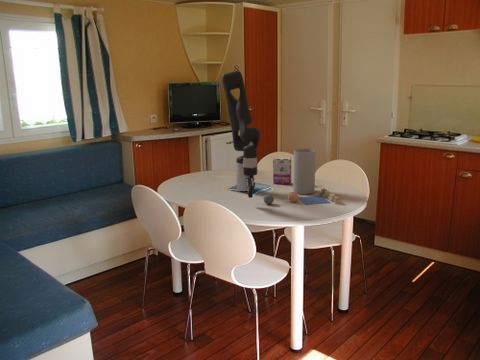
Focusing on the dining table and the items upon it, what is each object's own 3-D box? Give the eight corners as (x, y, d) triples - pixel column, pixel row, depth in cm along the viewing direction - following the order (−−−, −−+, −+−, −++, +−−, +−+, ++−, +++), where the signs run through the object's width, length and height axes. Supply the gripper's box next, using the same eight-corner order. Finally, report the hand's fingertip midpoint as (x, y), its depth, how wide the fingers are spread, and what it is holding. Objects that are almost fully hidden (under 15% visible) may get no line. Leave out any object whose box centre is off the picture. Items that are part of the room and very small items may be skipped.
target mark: (297, 197, 260) (297, 197, 260) (320, 196, 263) (320, 195, 263) (306, 204, 246) (306, 204, 246) (330, 202, 249) (330, 202, 249)
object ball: (286, 201, 254) (286, 191, 253) (296, 200, 255) (296, 190, 254) (289, 203, 249) (290, 194, 247) (299, 203, 250) (299, 193, 249)
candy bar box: (291, 182, 293) (291, 157, 289) (290, 184, 289) (290, 159, 285) (274, 182, 296) (274, 157, 292) (273, 184, 291) (273, 158, 287)
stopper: (320, 194, 266) (321, 188, 265) (324, 194, 266) (324, 188, 265) (335, 204, 247) (335, 197, 246) (338, 203, 247) (338, 197, 246)
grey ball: (262, 203, 251) (262, 193, 250) (272, 202, 252) (272, 192, 251) (265, 206, 246) (265, 195, 244) (275, 205, 247) (275, 195, 246)
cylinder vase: (317, 190, 274) (318, 149, 268) (309, 195, 263) (310, 153, 257) (298, 188, 280) (298, 148, 274) (289, 193, 270) (290, 151, 264)
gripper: (240, 163, 247) (241, 194, 251) (245, 168, 235) (246, 201, 239) (254, 163, 249) (254, 193, 253) (260, 167, 236) (260, 200, 240)
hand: (250, 197), depth 246 cm, fingers closed
